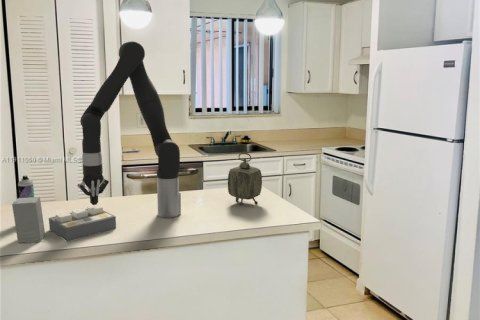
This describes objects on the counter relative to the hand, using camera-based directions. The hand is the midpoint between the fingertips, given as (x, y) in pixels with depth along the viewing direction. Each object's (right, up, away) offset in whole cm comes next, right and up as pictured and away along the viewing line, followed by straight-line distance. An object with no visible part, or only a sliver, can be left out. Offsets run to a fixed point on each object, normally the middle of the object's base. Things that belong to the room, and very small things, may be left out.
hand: (94, 204), depth 179 cm
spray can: (-27, -8, +1) cm, 28 cm away
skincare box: (-19, -12, -15) cm, 27 cm away
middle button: (-4, -5, -4) cm, 8 cm away
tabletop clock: (+61, -3, +30) cm, 68 cm away
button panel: (-3, -9, -4) cm, 11 cm away
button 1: (-9, -6, -8) cm, 14 cm away
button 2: (0, -4, +1) cm, 4 cm away
